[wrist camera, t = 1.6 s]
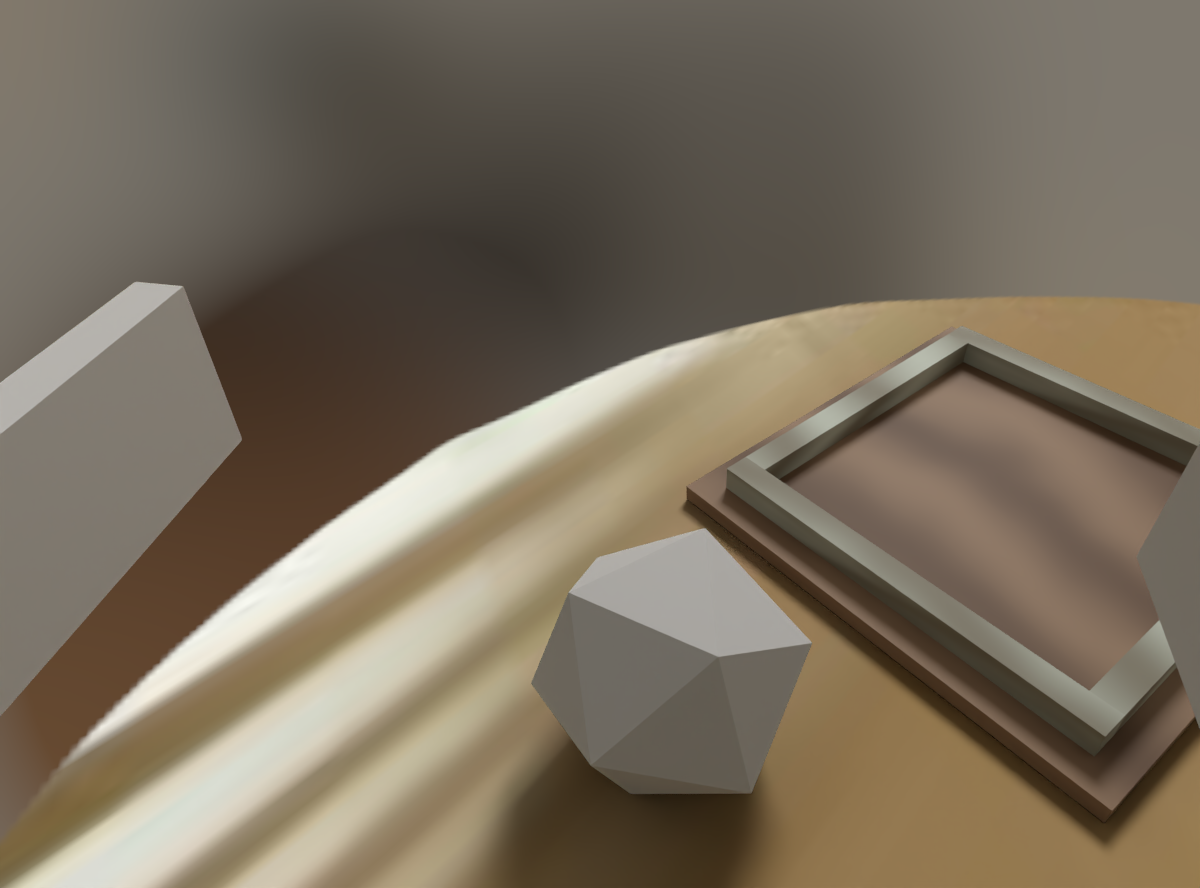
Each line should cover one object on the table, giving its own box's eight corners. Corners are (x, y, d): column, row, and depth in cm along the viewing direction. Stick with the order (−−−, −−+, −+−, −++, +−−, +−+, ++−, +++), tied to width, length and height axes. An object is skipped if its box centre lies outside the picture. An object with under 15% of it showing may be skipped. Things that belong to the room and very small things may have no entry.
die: (801, 865, 27) (889, 586, 26) (563, 885, 23) (653, 556, 22) (675, 732, 34) (739, 509, 33) (478, 729, 30) (542, 476, 29)
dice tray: (1104, 822, 26) (1124, 791, 25) (686, 498, 39) (686, 467, 38) (1363, 525, 35) (1388, 490, 34) (948, 338, 48) (955, 308, 47)
